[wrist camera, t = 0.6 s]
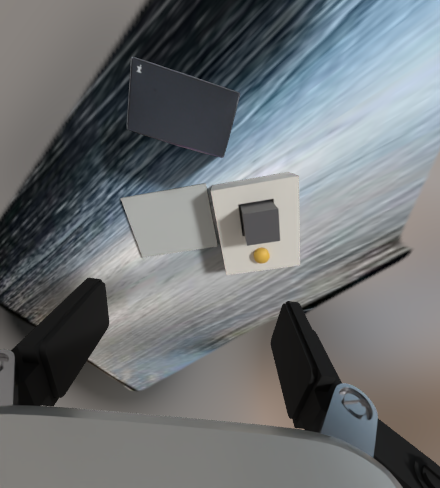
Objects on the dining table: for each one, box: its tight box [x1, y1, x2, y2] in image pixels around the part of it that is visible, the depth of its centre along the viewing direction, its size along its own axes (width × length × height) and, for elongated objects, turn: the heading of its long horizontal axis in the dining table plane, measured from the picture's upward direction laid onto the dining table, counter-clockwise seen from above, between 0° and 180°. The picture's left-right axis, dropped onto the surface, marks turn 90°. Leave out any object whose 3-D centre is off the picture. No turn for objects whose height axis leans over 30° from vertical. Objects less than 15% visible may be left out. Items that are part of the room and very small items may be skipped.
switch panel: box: [211, 172, 300, 275], centre depth 33 cm, size 12×14×6 cm
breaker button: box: [240, 199, 280, 246], centre depth 29 cm, size 4×4×6 cm
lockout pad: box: [121, 183, 218, 258], centre depth 36 cm, size 14×11×1 cm
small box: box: [127, 57, 240, 158], centre depth 25 cm, size 11×6×10 cm, turn 75°
